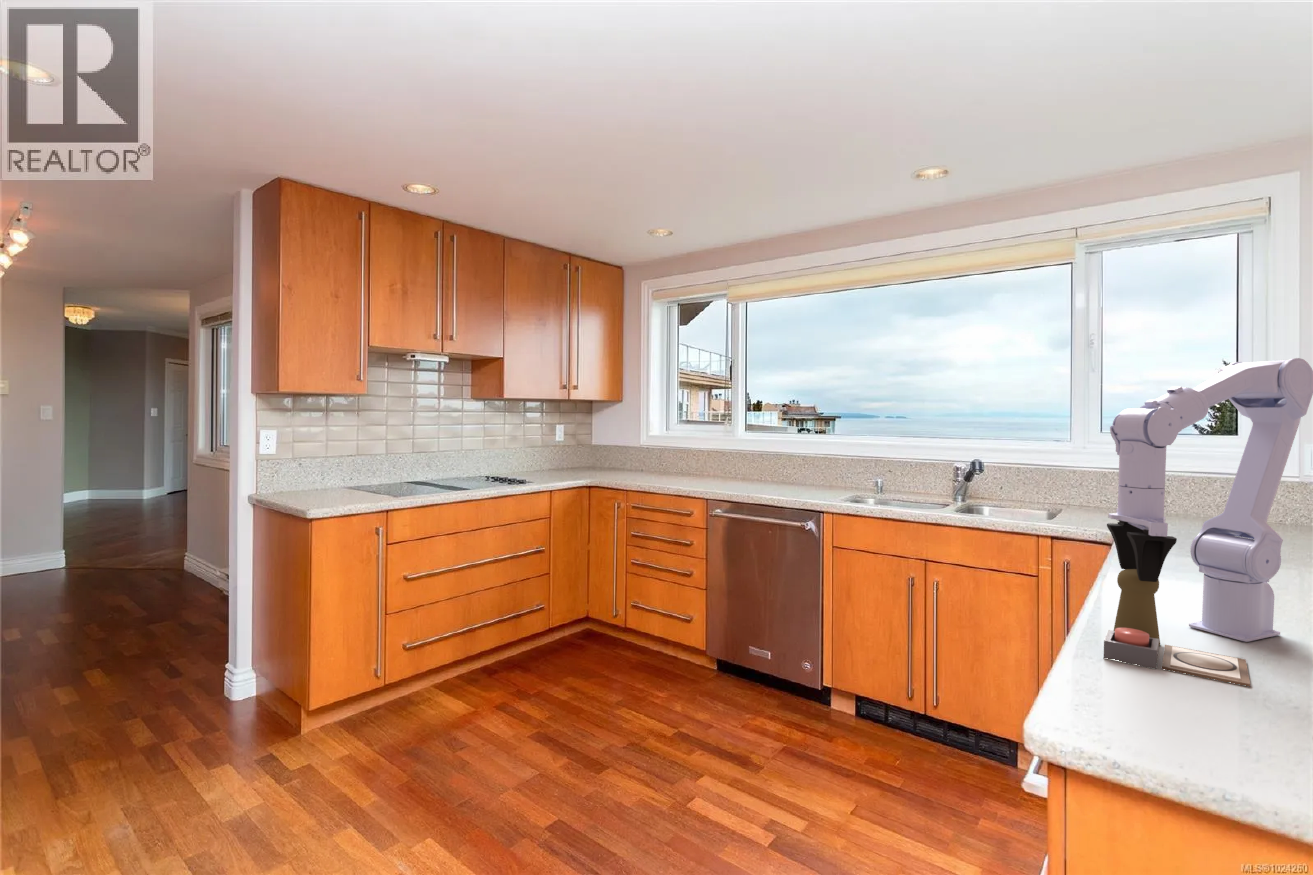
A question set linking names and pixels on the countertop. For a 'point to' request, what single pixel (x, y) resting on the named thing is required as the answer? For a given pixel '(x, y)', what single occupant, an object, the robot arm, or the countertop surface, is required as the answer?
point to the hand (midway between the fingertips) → (1138, 574)
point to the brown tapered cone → (1137, 604)
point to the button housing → (1131, 651)
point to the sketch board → (1206, 665)
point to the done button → (1132, 636)
